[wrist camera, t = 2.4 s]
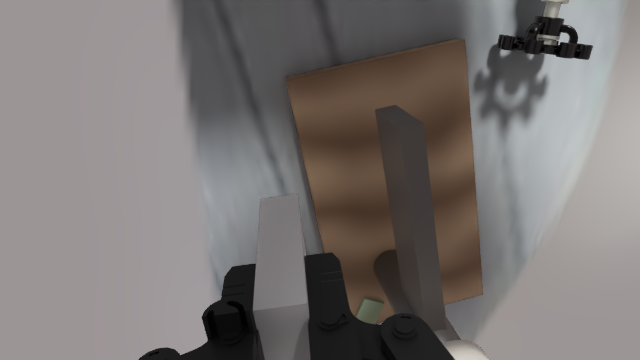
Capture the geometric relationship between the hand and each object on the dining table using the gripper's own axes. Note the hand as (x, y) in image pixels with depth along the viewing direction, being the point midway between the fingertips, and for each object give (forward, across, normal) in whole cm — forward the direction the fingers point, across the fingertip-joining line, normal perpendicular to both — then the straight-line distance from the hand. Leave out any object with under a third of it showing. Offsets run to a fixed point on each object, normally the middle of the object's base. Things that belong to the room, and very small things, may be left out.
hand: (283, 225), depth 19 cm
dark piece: (+18, +7, -11) cm, 22 cm away
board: (+19, +8, -10) cm, 23 cm away
